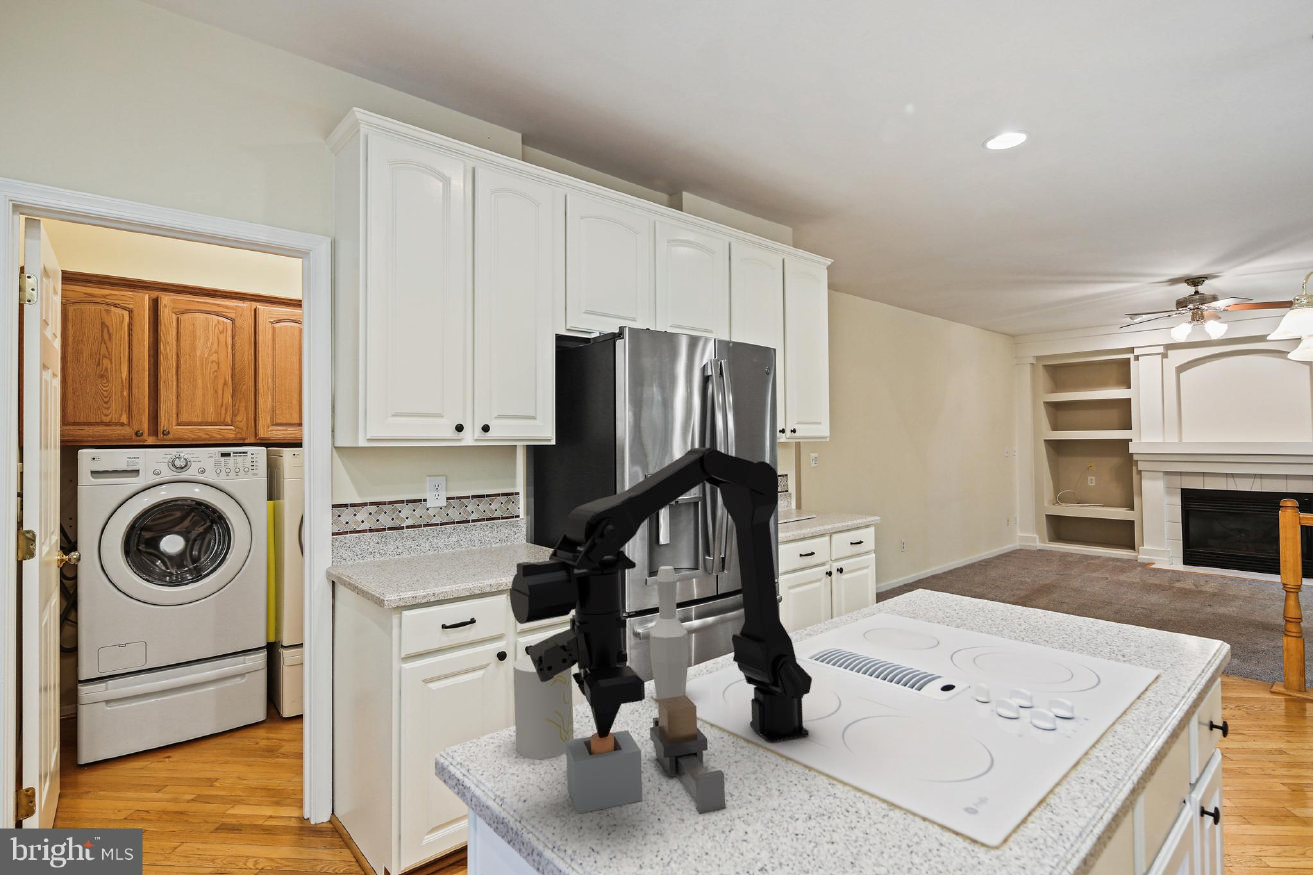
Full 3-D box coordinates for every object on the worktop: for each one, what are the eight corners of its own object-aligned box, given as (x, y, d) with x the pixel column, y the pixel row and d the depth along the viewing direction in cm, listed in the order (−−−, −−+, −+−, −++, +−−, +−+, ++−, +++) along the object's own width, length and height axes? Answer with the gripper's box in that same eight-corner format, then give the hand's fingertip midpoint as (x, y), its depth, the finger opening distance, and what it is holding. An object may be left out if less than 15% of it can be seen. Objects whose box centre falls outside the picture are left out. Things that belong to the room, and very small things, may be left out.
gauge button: (611, 758, 83) (610, 729, 83) (617, 769, 80) (616, 739, 80) (589, 762, 82) (588, 733, 82) (594, 773, 79) (593, 743, 79)
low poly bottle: (654, 692, 113) (650, 564, 113) (691, 693, 112) (687, 563, 113) (649, 707, 107) (644, 571, 107) (688, 708, 106) (683, 571, 106)
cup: (562, 761, 90) (559, 672, 90) (506, 757, 91) (503, 670, 92) (581, 734, 98) (578, 653, 98) (529, 731, 99) (526, 651, 99)
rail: (675, 742, 94) (674, 714, 94) (725, 808, 77) (724, 773, 77) (653, 746, 93) (652, 718, 93) (699, 813, 76) (698, 778, 76)
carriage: (692, 748, 91) (690, 691, 92) (708, 768, 86) (706, 707, 86) (650, 756, 90) (648, 697, 90) (664, 777, 84) (662, 714, 84)
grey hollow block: (629, 776, 85) (627, 730, 85) (642, 800, 79) (640, 750, 79) (567, 788, 82) (565, 740, 83) (576, 813, 77) (574, 762, 77)
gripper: (523, 599, 88) (527, 717, 87) (542, 637, 70) (547, 786, 70) (605, 590, 91) (609, 704, 91) (643, 625, 73) (648, 766, 73)
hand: (602, 736), depth 81 cm, fingers closed, pressing on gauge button
